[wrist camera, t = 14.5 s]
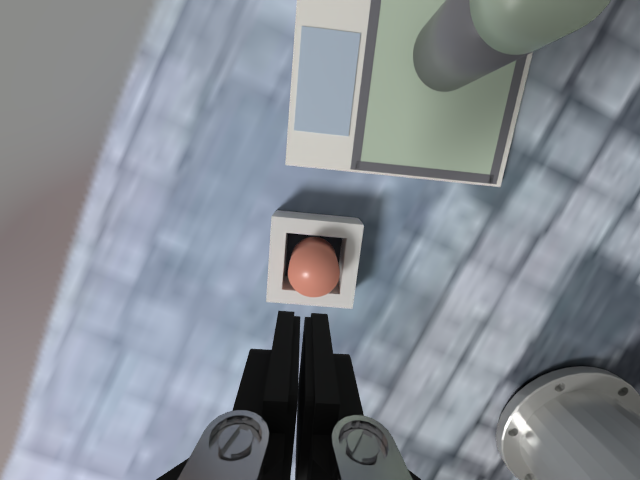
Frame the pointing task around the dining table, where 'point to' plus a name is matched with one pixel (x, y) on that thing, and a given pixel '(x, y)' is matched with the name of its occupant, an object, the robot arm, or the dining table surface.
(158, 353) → the dining table surface
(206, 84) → the dining table surface
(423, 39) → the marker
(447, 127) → the picture board
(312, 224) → the button housing
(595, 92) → the dining table surface
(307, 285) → the button
